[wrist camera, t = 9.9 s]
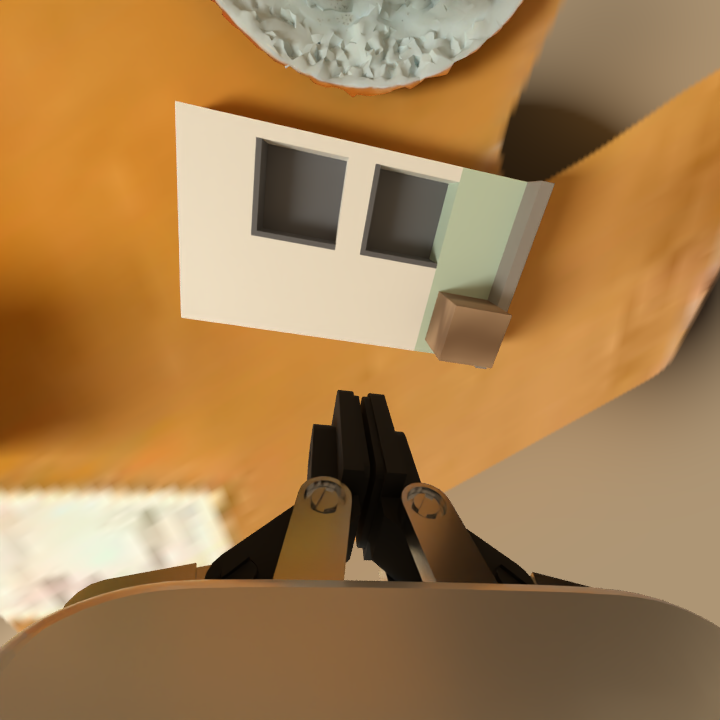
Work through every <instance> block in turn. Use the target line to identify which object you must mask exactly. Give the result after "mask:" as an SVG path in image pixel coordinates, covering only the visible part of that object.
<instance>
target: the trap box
mask: <svg viewBox="0 0 720 720" xmlns="http://www.w3.org/2000/svg"><path fill="white" fill-rule="evenodd" d="M175 116H176V152H177V188H178V224H179V260H180V296H181V318H188V319H195V320H202V321H209V322H216V323H223V324H230V325H237V326H244V327H251V328H259V329H266V330H273V331H280V332H287V333H294V334H301V335H308V336H315V337H322V338H329V339H336V340H343V341H350V342H357V343H364V344H371V345H378V346H385V347H392V348H399V349H406V350H413V351H420V352H427V353H434V352H433V351H432V349H431V348H430V346H429V345H428V343H427V342H426V341H425V338H426V334H427V331H428V327H429V324H430V320H431V317H432V313H433V310H434V306H435V303H436V299H437V296H438V293H439V291H440V292H446V293H451V294H457V295H462V296H468V297H473V298H479V299H484V300H488V301H490V302H491V303H493V304H494V305H496V306H498V307H499V308H501V309H502V310H504V311H506V312H507V311H508V309H509V306H510V303H511V300H512V298H513V295H514V292H515V290H516V287H517V284H518V281H519V279H520V276H521V273H522V271H523V268H524V265H525V263H526V260H527V257H528V254H529V252H530V249H531V246H532V244H533V241H534V238H535V235H536V233H537V230H538V227H539V225H540V222H541V219H542V217H543V214H544V211H545V208H546V206H547V203H548V200H549V198H550V195H551V192H552V190H553V187H554V183H550V182H545V181H534V182H525V181H520V180H516V179H512V178H507V177H503V176H499V175H495V174H490V173H486V172H481V171H477V170H473V169H468V168H464V167H460V166H455V165H451V164H447V163H442V162H438V161H434V160H429V159H425V158H421V157H416V156H412V155H408V154H403V153H399V152H395V151H390V150H386V149H382V148H377V147H373V146H368V145H364V144H360V143H355V142H351V141H347V140H342V139H338V138H334V137H329V136H325V135H321V134H316V133H312V132H308V131H303V130H299V129H295V128H290V127H286V126H282V125H277V124H273V123H269V122H264V121H260V120H255V119H251V118H247V117H242V116H238V115H234V114H229V113H225V112H221V111H216V110H212V109H208V108H203V107H199V106H195V105H190V104H186V103H182V102H177V101H175ZM475 367H476V368H483V369H486V367H480V366H475Z"/></svg>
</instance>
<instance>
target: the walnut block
mask: <svg viewBox="0 0 720 720" xmlns="http://www.w3.org/2000/svg"><path fill="white" fill-rule="evenodd" d="M511 317H512V315H510V314H509V313H507V312H506V311H504V310H502V309H501V308H499V307H498V306H496V305H494V304H493V303H491V302H490V301H488V300H484V299H479V298H473V297H468V296H462V295H457V294H451V293H446V292H440V291H439V293H438V296H437V299H436V303H435V306H434V310H433V313H432V317H431V320H430V324H429V327H428V331H427V334H426V338H425V341H426V342H427V343H428V345H429V346H430V348H431V349H432V351H433V352H434V354H435V355H436V357H437V358H438V359H439V361H446V362H453V363H459V364H466V365H473V366H480V367H486V368H492V366H493V364H494V361H495V358H496V356H497V353H498V351H499V348H500V345H501V343H502V340H503V338H504V335H505V333H506V330H507V327H508V325H509V322H510V320H511Z"/></svg>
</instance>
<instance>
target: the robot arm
mask: <svg viewBox="0 0 720 720" xmlns="http://www.w3.org/2000/svg"><path fill="white" fill-rule="evenodd" d="M355 536H356V544H357V547H358V548H363V556H364V560H372V561H374V562H375V563H376V564H377V565H378V566H379V567H380V570H379V576H380V581H347V580H344V574H345V564H346V562H347V561H348V560H349V559H350V556H351V552H352V548H353V544H354V540H355ZM0 720H720V627H718V626H717V625H715V624H714V623H712V622H710V621H708V620H707V619H705V618H703V617H701V616H699V615H697V614H695V613H693V612H691V611H689V610H687V609H684V608H681V607H679V606H676V605H674V604H671V603H669V602H666V601H664V600H660V599H656V598H653V597H649V596H645V595H642V594H637V593H632V592H626V591H621V590H613V589H603V588H593V587H589V586H585V585H581V584H577V583H573V582H570V581H565V580H562V579H558V578H554V577H550V576H546V575H542V574H539V573H534V572H532V574H531V576H529V575H528V574H527V573H526V571H524V570H523V569H522V568H521V567H520V566H519V565H517V564H516V563H515V562H513V561H512V560H510V559H509V558H508V557H506V556H504V555H503V554H502V553H500V552H499V551H498V550H496V549H495V548H493V547H492V546H490V545H489V544H488V543H486V542H485V541H483V540H482V539H480V538H479V537H478V536H476V535H475V534H473V533H472V532H470V531H469V530H468V529H466V528H465V526H464V524H463V523H462V521H461V519H460V517H459V515H458V514H457V512H456V510H455V508H454V507H453V505H452V504H451V502H450V500H449V499H448V497H447V496H446V495H445V494H444V493H443V492H442V491H441V490H439V489H438V488H436V487H434V486H432V485H429V484H426V483H421V481H420V478H419V475H418V472H417V469H416V466H415V463H414V460H413V457H412V454H411V451H410V448H409V445H408V442H407V439H406V436H405V434H404V433H403V432H396V431H395V430H394V427H393V423H392V420H391V416H390V413H389V410H388V406H387V403H386V399H385V396H384V395H381V394H371V393H369V394H368V396H367V397H362V400H361V405H360V401H359V396H354V393H353V392H352V391H343V390H338V391H337V396H336V402H335V408H334V414H333V420H332V426H330V425H319V424H313V429H312V436H311V443H310V451H309V461H308V474H307V481H306V482H305V483H304V484H303V485H302V486H301V488H300V490H299V492H298V495H297V498H296V502H295V505H294V506H292V507H291V508H289V509H288V510H286V511H285V512H283V513H282V514H281V515H279V516H278V517H276V518H275V519H273V520H272V521H270V522H269V523H267V524H266V525H265V526H263V527H262V528H260V529H259V530H257V531H256V532H254V533H253V534H251V535H250V536H249V537H247V538H246V539H244V540H243V541H241V542H240V543H238V544H237V545H235V546H234V547H233V548H231V549H230V550H228V551H227V552H225V553H224V554H222V555H221V556H220V557H219V558H218V559H216V560H215V561H214V562H213V563H212V565H208V566H203V567H198V568H197V567H196V563H193V564H188V565H183V566H177V567H172V568H166V569H161V570H155V571H150V572H145V573H139V574H134V575H128V576H123V577H117V578H112V579H107V580H103V581H100V582H97V583H94V584H91V585H89V586H88V587H86V588H84V589H83V590H81V591H79V592H78V593H77V594H76V595H74V596H73V597H72V598H71V599H70V600H69V601H68V602H67V603H66V604H65V606H64V608H63V609H60V610H58V611H56V612H54V613H52V614H50V615H48V616H46V617H44V618H42V619H40V620H38V621H37V622H35V623H33V624H31V625H30V626H28V627H27V628H25V629H24V630H22V631H21V632H19V633H18V634H16V635H15V636H14V637H13V638H11V639H10V640H9V641H8V642H6V643H5V644H4V645H3V646H2V647H0Z"/></svg>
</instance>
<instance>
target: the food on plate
mask: <svg viewBox="0 0 720 720" xmlns="http://www.w3.org/2000/svg"><path fill="white" fill-rule="evenodd" d="M211 1H213V2H215V3H216V4H217V5H218V6H219V7H220V8H221V10H222V15H223V16H224V17H225V18H226V19H227V20H228V21H229V22H230V23H231V24H232V25H233V26H235V27H236V28H237V29H239V30H240V31H241V32H242V33H243V34H244V35H245V36H246V37H247V38H248V39H249V40H250V41H251V42H252V43H253V44H254V45H255V46H256V47H257V48H258V49H260V50H262V51H264V52H266V53H267V55H268V56H269V57H270V58H272V59H273V60H274V61H275V62H277V63H279V64H282V65H284V66H285V68H287V67H288V66H291V67H292V68H293V69H294V70H296V71H297V72H298V73H300V74H302V75H304V76H307V77H309V78H310V79H311V80H312V81H313V82H314V83H315V84H318V85H321V86H324V87H336V88H340V89H343V90H344V91H346V92H347V93H348V94H349V95H351V96H352V97H354V96H356V95H357V94H358V95H364V96H373V95H379V94H385V93H389V92H391V91H393V90H396V89H399V88H402V87H406V88H409V89H412V88H413V87H415V86H416V85H418V84H419V83H421V82H422V81H423V80H424V79H425V78H431V77H437V76H442V75H446V74H448V72H449V70H450V68H451V67H452V65H453V64H454V62H456V61H458V60H460V59H462V58H464V57H467V56H469V55H471V54H473V53H475V52H476V51H477V50H478V49H479V48H480V47H481V46H482V44H483V43H484V42H485V41H486V40H487V39H488V38H490V37H492V36H494V35H496V34H497V33H498V32H499V31H500V30H501V29H502V26H503V25H504V24H506V23H507V22H509V20H510V19H511V17H512V16H513V14H514V13H515V11H516V9H517V8H518V7H519V6H520V5H521V4H522V3H523V2H524V0H211Z"/></svg>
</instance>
